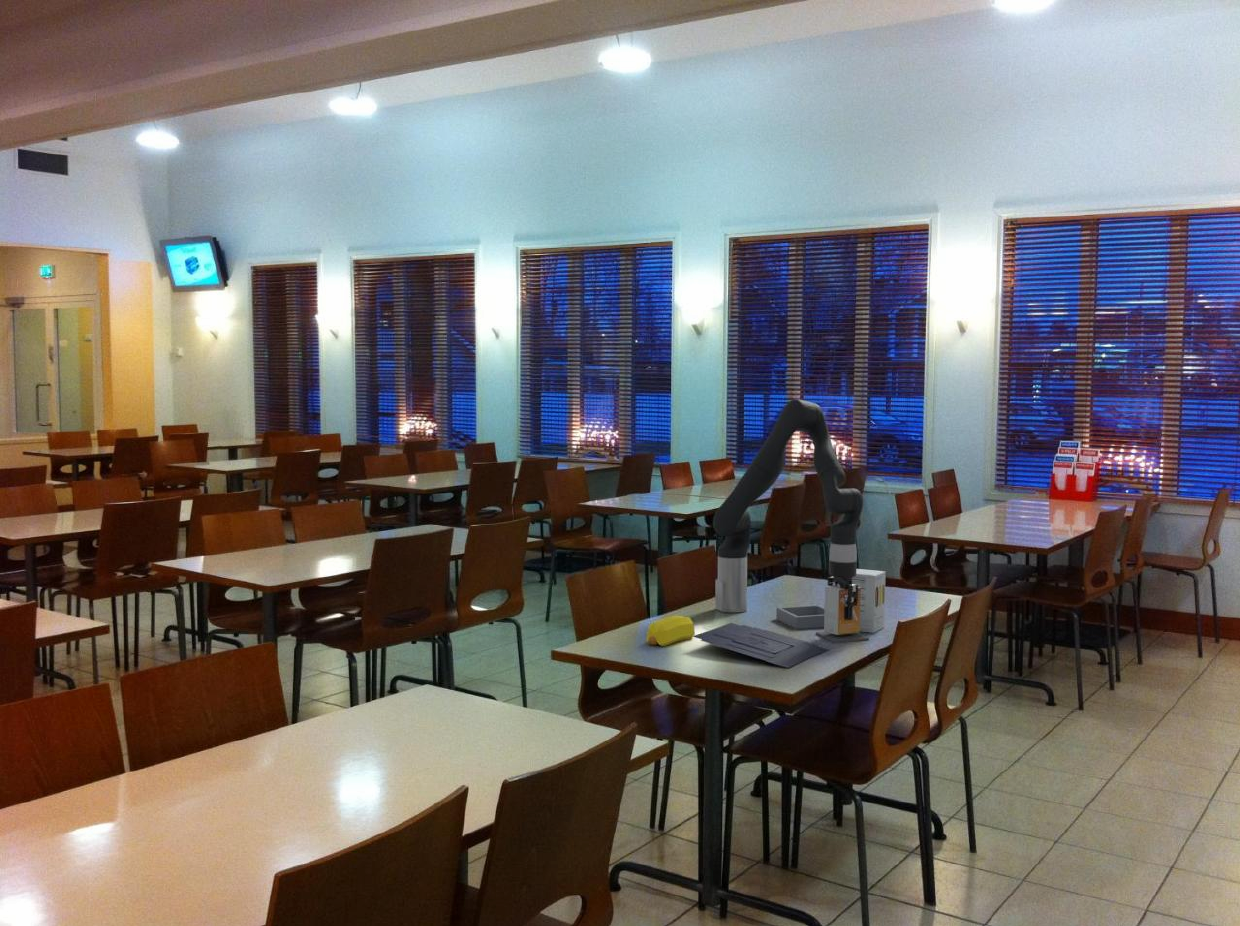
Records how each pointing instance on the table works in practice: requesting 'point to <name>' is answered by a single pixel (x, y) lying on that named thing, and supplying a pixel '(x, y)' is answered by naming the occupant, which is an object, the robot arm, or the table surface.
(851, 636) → the charcoal mat
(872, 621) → the supplement box
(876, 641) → the table surface
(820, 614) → the grey bin
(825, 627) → the small box
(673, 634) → the yellow faceted capsule
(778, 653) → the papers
